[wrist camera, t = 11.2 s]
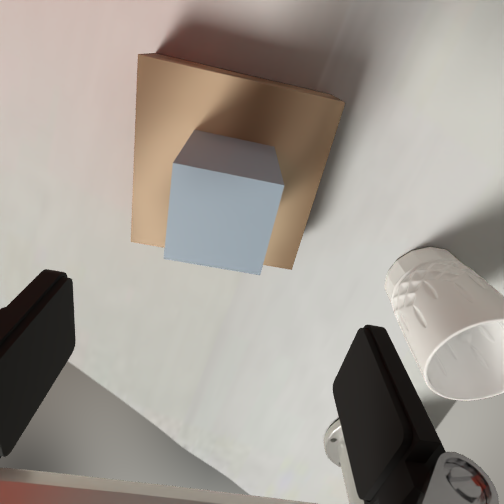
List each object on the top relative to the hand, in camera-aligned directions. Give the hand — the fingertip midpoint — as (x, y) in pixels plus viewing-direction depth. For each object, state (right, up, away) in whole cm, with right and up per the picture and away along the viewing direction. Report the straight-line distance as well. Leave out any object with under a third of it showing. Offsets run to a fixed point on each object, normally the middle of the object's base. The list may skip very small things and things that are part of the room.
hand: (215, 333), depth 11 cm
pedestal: (0, +9, +15) cm, 18 cm away
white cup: (+17, 0, +21) cm, 26 cm away
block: (0, +8, +11) cm, 14 cm away
